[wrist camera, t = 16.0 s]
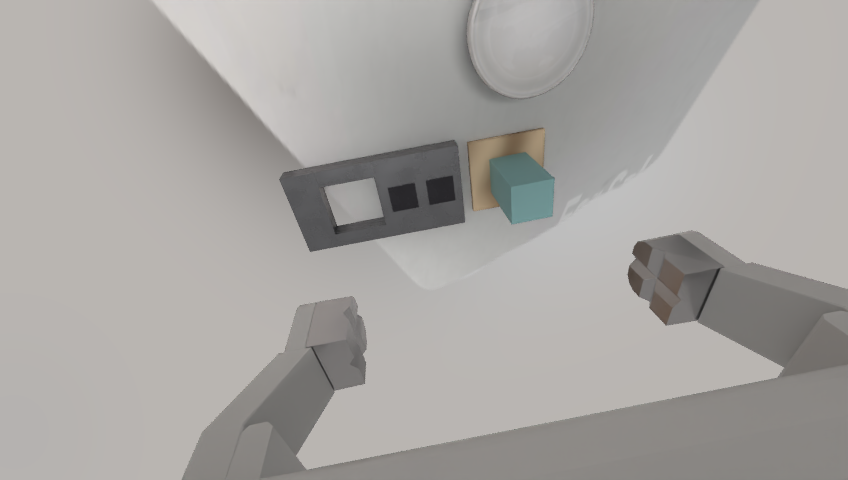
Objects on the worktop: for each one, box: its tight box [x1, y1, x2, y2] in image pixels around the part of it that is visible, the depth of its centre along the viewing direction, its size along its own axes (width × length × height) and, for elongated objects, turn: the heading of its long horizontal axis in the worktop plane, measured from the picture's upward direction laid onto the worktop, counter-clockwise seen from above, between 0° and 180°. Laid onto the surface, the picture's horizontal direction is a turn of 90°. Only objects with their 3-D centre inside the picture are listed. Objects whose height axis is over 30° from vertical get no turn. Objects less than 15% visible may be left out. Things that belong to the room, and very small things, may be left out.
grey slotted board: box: [279, 140, 465, 252], centre depth 41 cm, size 20×10×2 cm, turn 99°
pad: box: [467, 128, 545, 211], centre depth 42 cm, size 9×9×1 cm
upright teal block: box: [489, 152, 555, 224], centre depth 38 cm, size 4×4×8 cm
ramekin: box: [466, 0, 594, 99], centre depth 31 cm, size 11×11×5 cm
